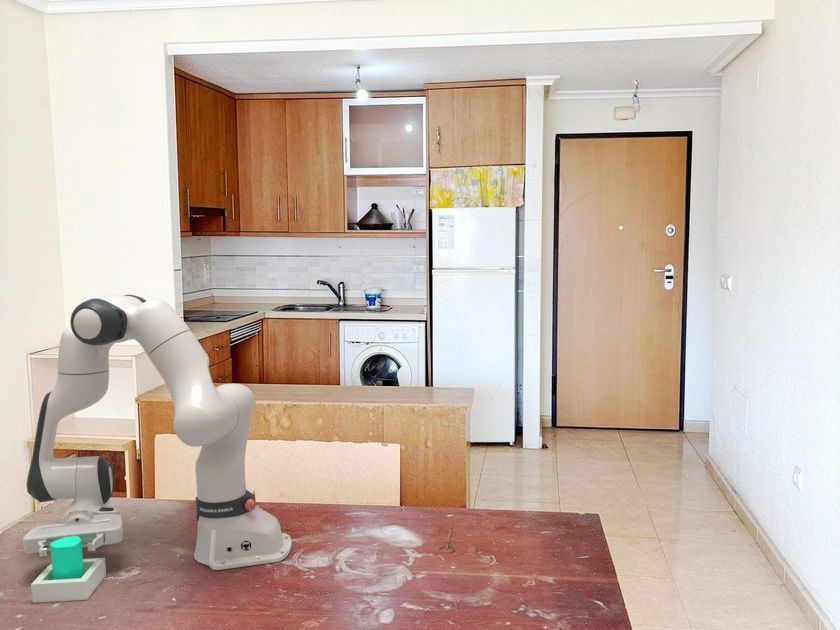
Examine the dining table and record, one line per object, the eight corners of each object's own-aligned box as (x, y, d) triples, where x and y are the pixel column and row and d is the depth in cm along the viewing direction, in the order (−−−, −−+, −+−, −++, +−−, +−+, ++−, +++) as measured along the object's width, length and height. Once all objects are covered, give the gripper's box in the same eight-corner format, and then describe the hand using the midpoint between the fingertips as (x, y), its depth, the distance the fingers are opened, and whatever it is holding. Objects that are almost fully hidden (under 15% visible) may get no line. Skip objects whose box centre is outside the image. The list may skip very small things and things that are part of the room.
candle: (55, 597, 155) (50, 543, 153) (53, 586, 160) (48, 533, 158) (86, 590, 157) (81, 536, 156) (84, 579, 163) (79, 526, 161)
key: (436, 528, 186) (429, 555, 171) (436, 525, 186) (429, 551, 171) (459, 528, 185) (454, 554, 170) (459, 524, 185) (454, 550, 170)
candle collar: (106, 574, 164) (104, 557, 164) (87, 599, 153) (85, 581, 153) (55, 577, 164) (53, 560, 163) (32, 602, 153) (30, 584, 152)
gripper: (30, 517, 168) (12, 542, 155) (126, 507, 173) (116, 530, 159) (32, 543, 169) (15, 570, 156) (128, 532, 174) (118, 558, 160)
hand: (67, 550), depth 158 cm, fingers open, 8 cm apart
